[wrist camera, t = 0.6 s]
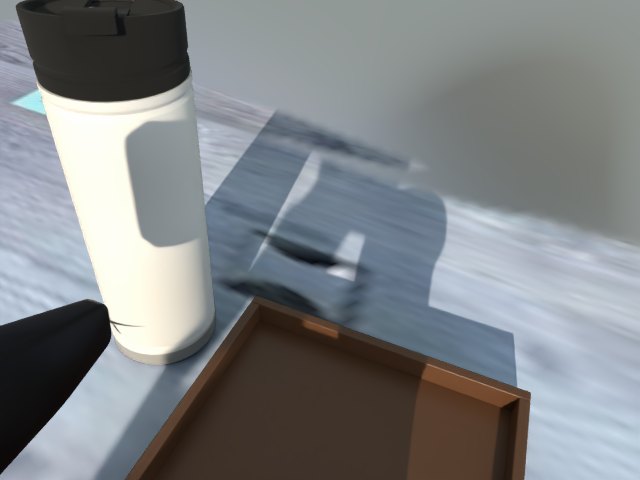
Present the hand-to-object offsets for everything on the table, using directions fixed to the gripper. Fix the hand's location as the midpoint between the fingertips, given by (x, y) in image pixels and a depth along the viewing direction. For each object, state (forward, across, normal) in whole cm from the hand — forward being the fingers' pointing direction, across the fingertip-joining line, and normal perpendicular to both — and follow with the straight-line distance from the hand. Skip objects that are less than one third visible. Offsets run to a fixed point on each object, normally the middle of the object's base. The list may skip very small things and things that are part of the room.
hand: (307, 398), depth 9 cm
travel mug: (+14, +14, +16) cm, 25 cm away
